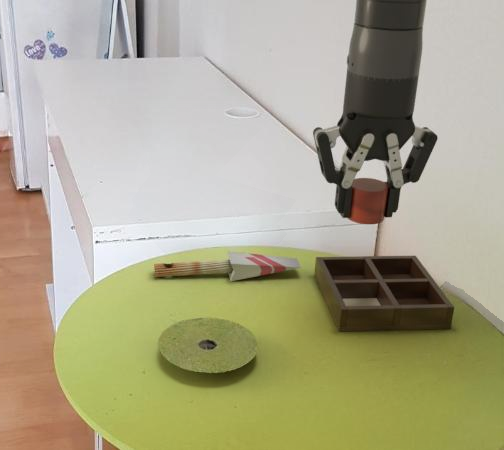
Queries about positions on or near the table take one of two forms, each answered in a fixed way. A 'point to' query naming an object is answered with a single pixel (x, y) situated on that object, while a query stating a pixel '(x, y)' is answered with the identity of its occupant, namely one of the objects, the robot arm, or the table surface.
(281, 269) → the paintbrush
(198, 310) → the table surface
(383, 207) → the red cylinder
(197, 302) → the table surface
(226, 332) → the green disc
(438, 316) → the grid
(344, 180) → the robot arm
